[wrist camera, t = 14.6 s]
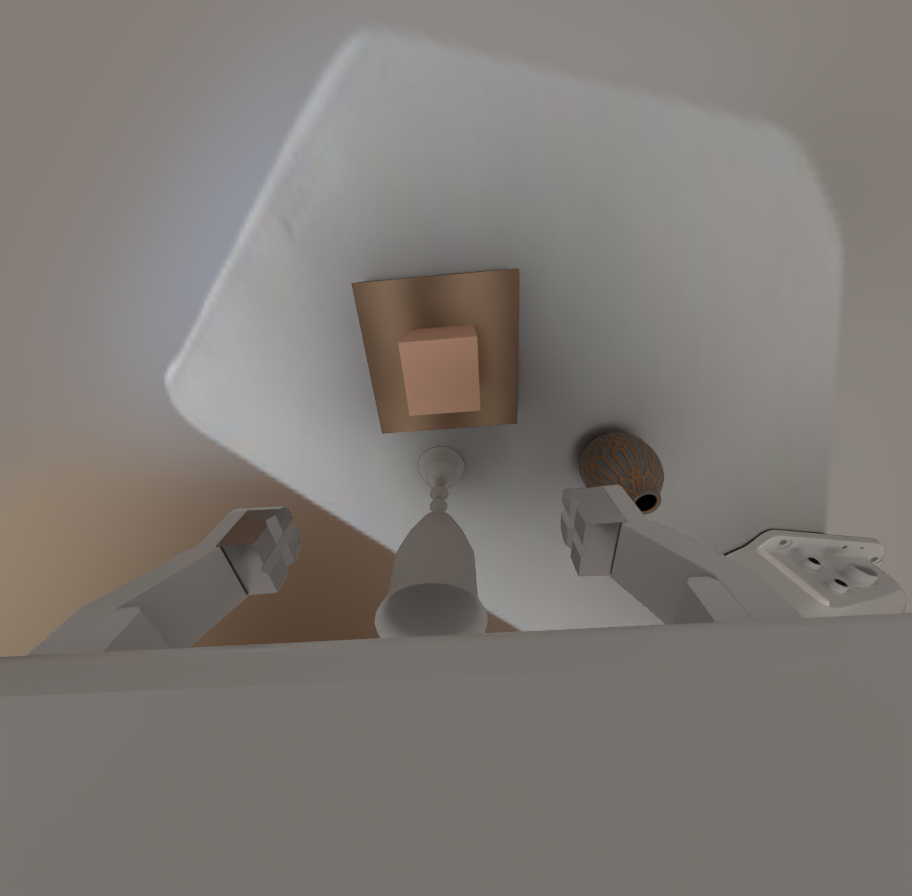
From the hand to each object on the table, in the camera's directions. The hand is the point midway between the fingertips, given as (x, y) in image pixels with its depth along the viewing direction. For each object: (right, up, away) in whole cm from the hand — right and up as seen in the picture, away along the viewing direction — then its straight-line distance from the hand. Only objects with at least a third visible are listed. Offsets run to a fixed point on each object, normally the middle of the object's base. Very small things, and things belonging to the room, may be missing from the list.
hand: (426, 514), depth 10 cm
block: (0, +9, +17) cm, 19 cm away
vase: (+17, +2, +25) cm, 30 cm away
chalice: (-1, 0, +26) cm, 26 cm away
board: (0, +11, +20) cm, 23 cm away
